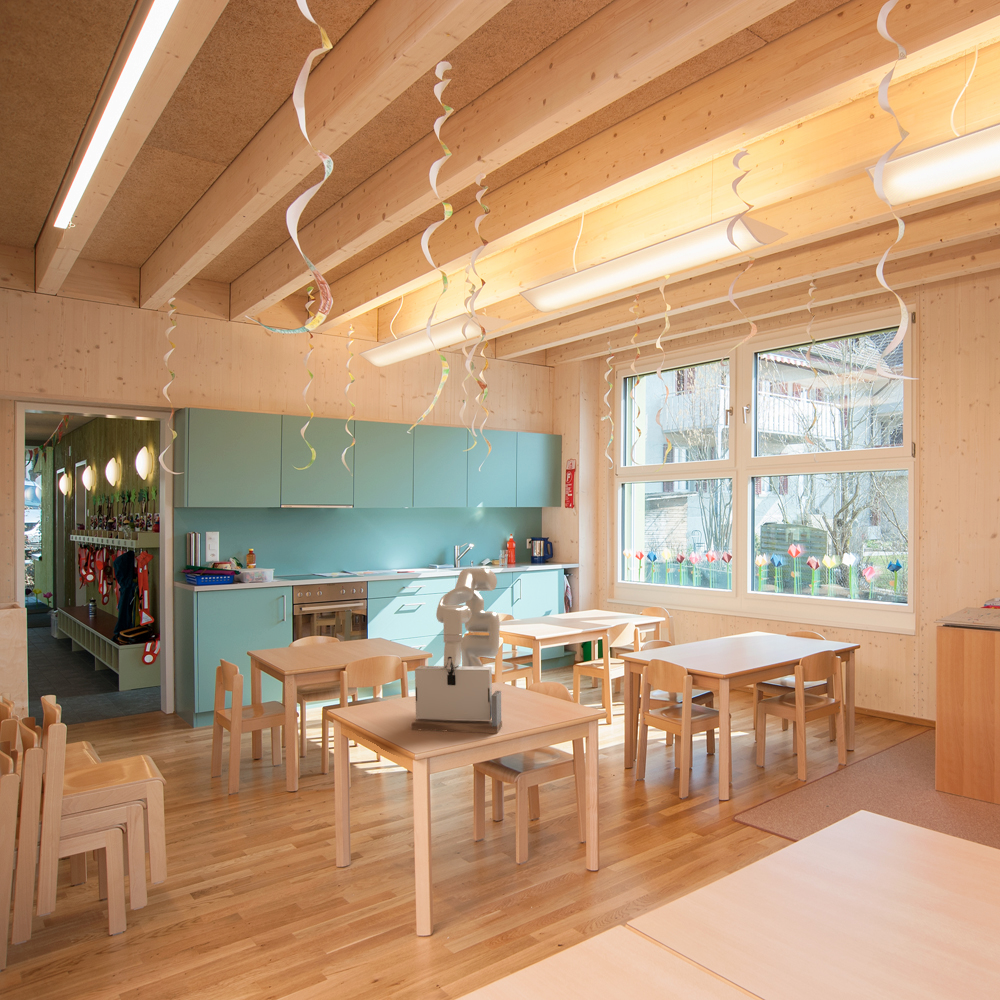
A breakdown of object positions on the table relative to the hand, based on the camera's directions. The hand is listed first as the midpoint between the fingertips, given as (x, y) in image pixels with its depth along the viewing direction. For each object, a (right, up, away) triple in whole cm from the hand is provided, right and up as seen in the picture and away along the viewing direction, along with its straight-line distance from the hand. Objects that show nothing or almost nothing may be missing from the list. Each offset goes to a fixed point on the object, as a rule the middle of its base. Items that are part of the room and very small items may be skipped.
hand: (453, 683), depth 310 cm
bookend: (+18, -15, -4) cm, 24 cm away
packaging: (0, -14, 0) cm, 14 cm away
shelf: (+2, -18, -1) cm, 18 cm away
